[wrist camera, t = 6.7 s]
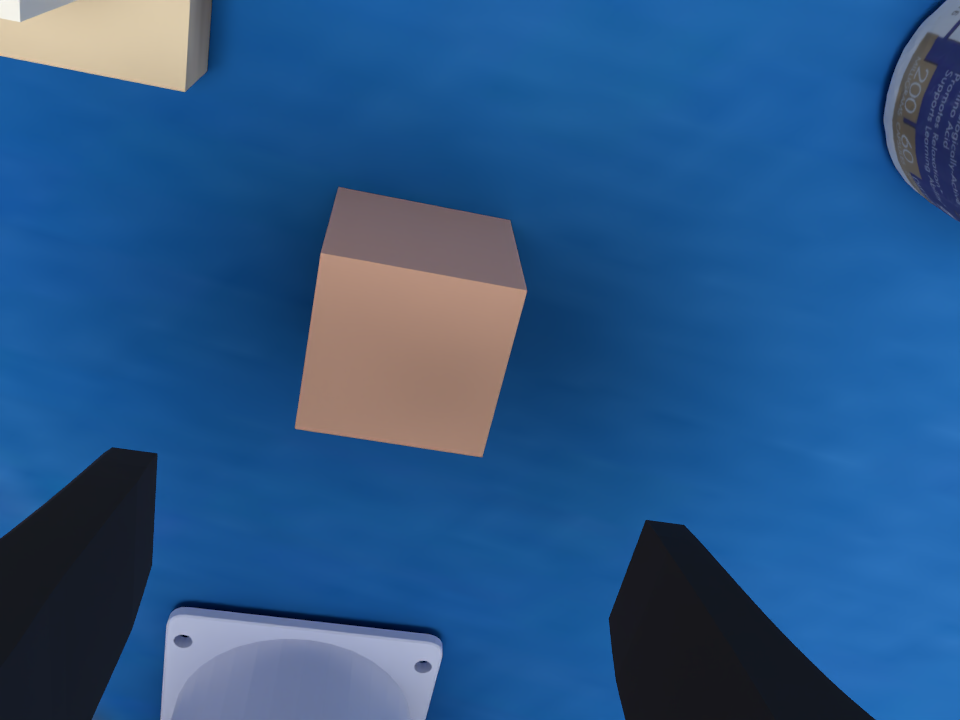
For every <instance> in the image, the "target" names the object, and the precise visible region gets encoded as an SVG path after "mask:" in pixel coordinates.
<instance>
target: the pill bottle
mask: <svg viewBox="0 0 960 720" xmlns="http://www.w3.org/2000/svg"><path fill="white" fill-rule="evenodd" d="M883 122H884V127H885V132H886V142H887V147H888V150H889V153H890V156H891V158H892V161H893V163H894V165H895V167H896V168H897V170H898V171H899V173H900V174H901V176H902V177H903V178H904V180H905V181H906V182H907V183H908V184H909V185H910V186H911V187H912V188H913V189H914V190H916V191H917V192H918V193H919V194H920V195H922V196H923V197H924V198H926V199H927V200H928V201H929V202H930V203H932V204H933V205H935V206H936V207H938V208H939V209H941V210H942V211H943V212H945V213H946V214H948V215H949V216H951V217H952V218H954V219H956V220H958V221H959V222H960V0H946V1H945V2H944V3H943V4H942V5H941V6H940V7H939V8H938V9H937V10H936V11H935V12H934V13H933V14H931V15H930V16H929V17H928V18H927V19H926V20H925V21H924V22H923V23H922V24H921V25H920V27H919V28H918V29H917V31H916V32H915V33H914V35H913V36H912V38H911V39H910V41H909V42H908V44H907V45H906V46H905V48H904V50H903V52H902V54H901V56H900V59H899V61H898V63H897V65H896V68H895V70H894V73H893V76H892V79H891V83H890V86H889V90H888V93H887V100H886V105H885V111H884V120H883Z"/></svg>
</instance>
